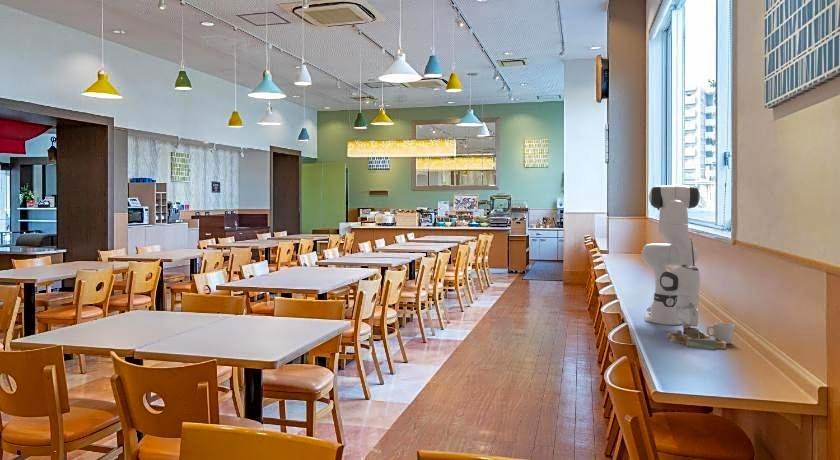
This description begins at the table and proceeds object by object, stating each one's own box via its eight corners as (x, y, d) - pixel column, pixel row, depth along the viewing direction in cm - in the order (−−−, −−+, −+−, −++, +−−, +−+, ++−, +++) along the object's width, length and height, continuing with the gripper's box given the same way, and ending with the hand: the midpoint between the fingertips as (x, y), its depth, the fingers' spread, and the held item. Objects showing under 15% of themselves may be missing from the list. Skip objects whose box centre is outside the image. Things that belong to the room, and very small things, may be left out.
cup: (705, 342, 275) (706, 323, 275) (706, 339, 282) (707, 320, 282) (733, 345, 270) (734, 327, 270) (734, 342, 277) (735, 323, 277)
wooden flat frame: (666, 337, 282) (666, 329, 282) (712, 339, 280) (712, 332, 280) (677, 346, 265) (678, 338, 264) (727, 349, 262) (727, 341, 262)
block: (682, 338, 282) (683, 327, 282) (694, 339, 282) (695, 327, 281) (686, 340, 277) (686, 329, 277) (698, 341, 277) (699, 330, 276)
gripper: (703, 306, 275) (701, 338, 275) (688, 298, 295) (686, 328, 296) (687, 305, 275) (685, 337, 276) (674, 298, 296) (672, 327, 296)
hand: (686, 332), depth 286 cm, fingers closed
